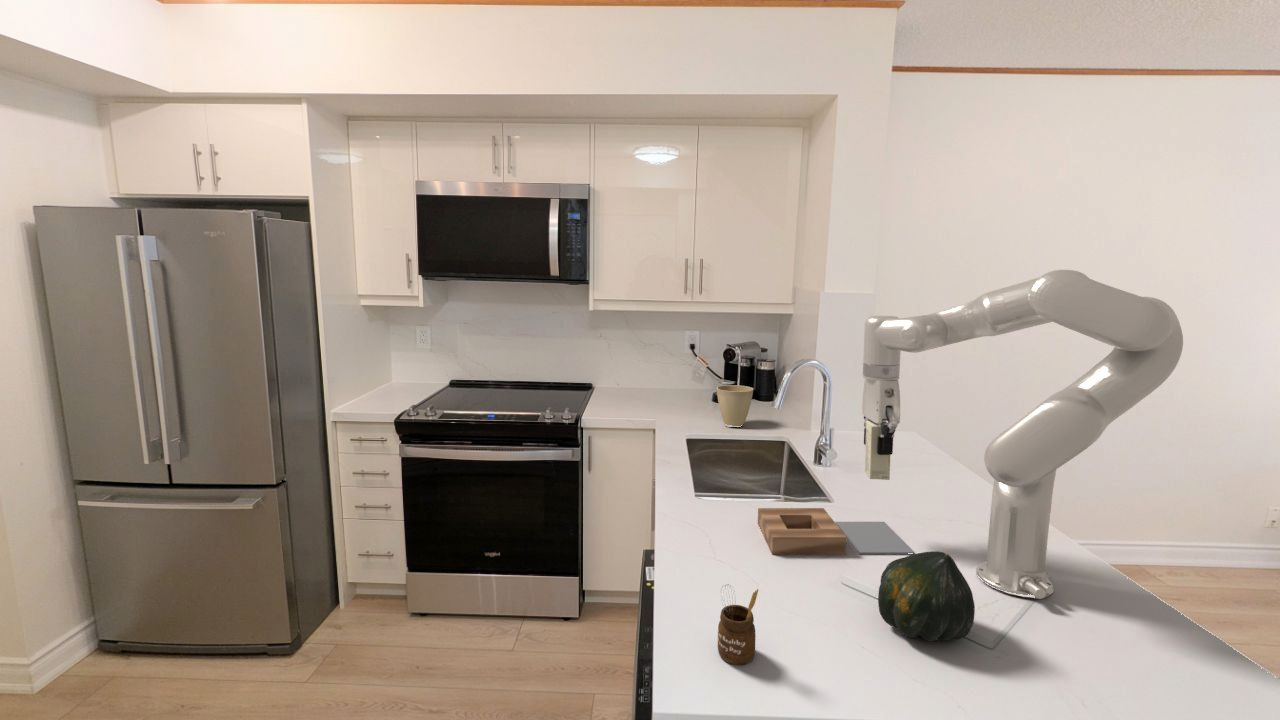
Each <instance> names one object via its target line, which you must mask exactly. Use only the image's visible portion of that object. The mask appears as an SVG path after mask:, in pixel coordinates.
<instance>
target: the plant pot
mask: <svg viewBox="0 0 1280 720" xmlns="http://www.w3.org/2000/svg"><path fill="white" fill-rule="evenodd" d="M753 394H754V387H750V386H747V385H746V386H745V385H740V384H739V385H736V384H735V385H732V384H728V385H726V384H725V385H719V386H716V396H717V402H718V406H719V411H720V415H721V417H722V421H723V424H724V423H725V424H727V425H732V426H741V425H743V424H745V422H746V420H747V417H748V415H749V411H750V408H751V403H752V401H753V400H752V399H753ZM743 426H744V425H743Z"/></svg>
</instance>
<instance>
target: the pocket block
mask: <svg viewBox="0 0 1280 720" xmlns="http://www.w3.org/2000/svg"><path fill="white" fill-rule="evenodd" d="M835 522H836V521H834V519H833V518H832V517H831V516H830V515H829V513H828V512H827V510H826V509H825V508H824V507H803V508H802V507H758V508H757V525H758V527H760V528H759V529H761V530H760V532H761V534H762V536H763V538H764V540H765V543H766V545H767V546H768V550H769V551H770V553H771V555H774V556H775V555H779V556H781V555H783V556H784V555H785V556H786V555H792V556H793V555H794V556H795V555H802V556H803V555H807V556H809V555H812V556H813V555H827V556H828V555H839V556H840V555H842V556H843V555H846V554H847V553H846V551H847V538H846V536H845V535H844V533H843V532H842V531H841V530H840V528H839V527H838V526H837V525H836V523H835Z"/></svg>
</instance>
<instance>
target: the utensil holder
mask: <svg viewBox="0 0 1280 720" xmlns="http://www.w3.org/2000/svg"><path fill="white" fill-rule="evenodd" d="M728 587H730V591H731V593H732V595H735V593H736V592H735V588H734V587H732V585H731V584H729V583H728V584H723V585H721V588H720V593H723V592H722V591H723V590H722V589H723V588H726V589H729V588H728ZM727 591H728V593H730V591H729V590H727ZM758 592H759V588H757V589H756V590H755V591H754V592H753V593H752V595H751V598H750V601H749V605H748V607H746V606H743V605H740V604H736V603H737V600H736V596H731V597H732V598H731V597H730V595H728V594H727V592H725V593H726V596H729V599H732V602H730V604H729V603H727V604H728V605H726V603H725V602H726V600H725V598H724V596H721V598H720V599H721V604H722V605H723V608H722V609H721V611H720V616H719V617H720V618H719V619H720V620H719V623H718V625H717V652H718V654H719V656H720V658H721V659H722V660H724V661H725V662H727V663H729V664H731V665H745V664H746V665H747V664H748V663H750V662H751V661H752V660H753V659H754V657H755V653H756V628H755V627H756V626H755V623H754V614H753V612H752V610H753V608H754V606H755V603H756V600H757V597H758ZM733 597H734V598H733ZM733 599H734V600H733ZM727 602H729V600H728V598H727ZM733 603H734V604H733Z"/></svg>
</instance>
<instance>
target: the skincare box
mask: <svg viewBox="0 0 1280 720" xmlns="http://www.w3.org/2000/svg"><path fill="white" fill-rule="evenodd" d="M882 423H888V421H882ZM886 427H888V426H883V431H884V429H885V428H886ZM878 437H880V435H879V428H878V424H876V423H875V422H873V421H866V445H865V446H864V447H865V454H864V455H865V456H864V472H865V474H866V476H867V477H868V478H869V479H870V480H882V481H890V475H891V473H890V472H891V455H879V454H877V441H878Z"/></svg>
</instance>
